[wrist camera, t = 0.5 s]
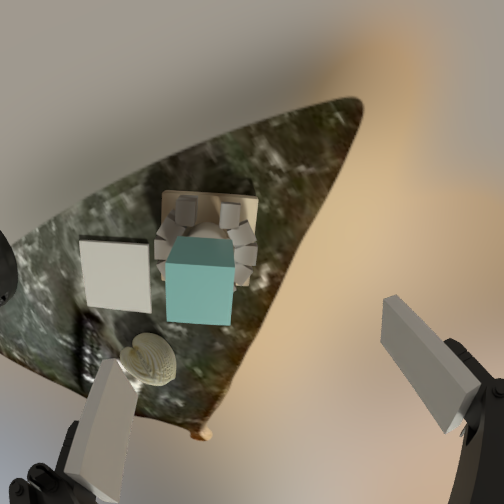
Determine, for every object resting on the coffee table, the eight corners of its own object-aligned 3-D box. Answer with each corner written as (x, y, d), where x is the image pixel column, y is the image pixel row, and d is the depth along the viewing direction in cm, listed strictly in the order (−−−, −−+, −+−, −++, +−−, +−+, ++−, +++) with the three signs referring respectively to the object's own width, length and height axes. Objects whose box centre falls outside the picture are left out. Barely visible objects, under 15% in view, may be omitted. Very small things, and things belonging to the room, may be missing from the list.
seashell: (144, 323, 38) (181, 369, 36) (160, 327, 46) (191, 364, 44) (105, 358, 36) (140, 403, 34) (126, 356, 44) (156, 393, 42)
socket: (164, 273, 38) (155, 294, 32) (165, 190, 34) (155, 198, 28) (247, 279, 39) (251, 300, 34) (256, 196, 35) (262, 205, 30)
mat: (89, 303, 38) (87, 305, 38) (81, 239, 35) (79, 240, 34) (151, 310, 39) (151, 313, 39) (149, 243, 36) (147, 245, 35)
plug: (184, 260, 35) (167, 321, 23) (185, 218, 33) (165, 262, 21) (242, 264, 36) (251, 326, 24) (246, 222, 34) (259, 269, 22)
